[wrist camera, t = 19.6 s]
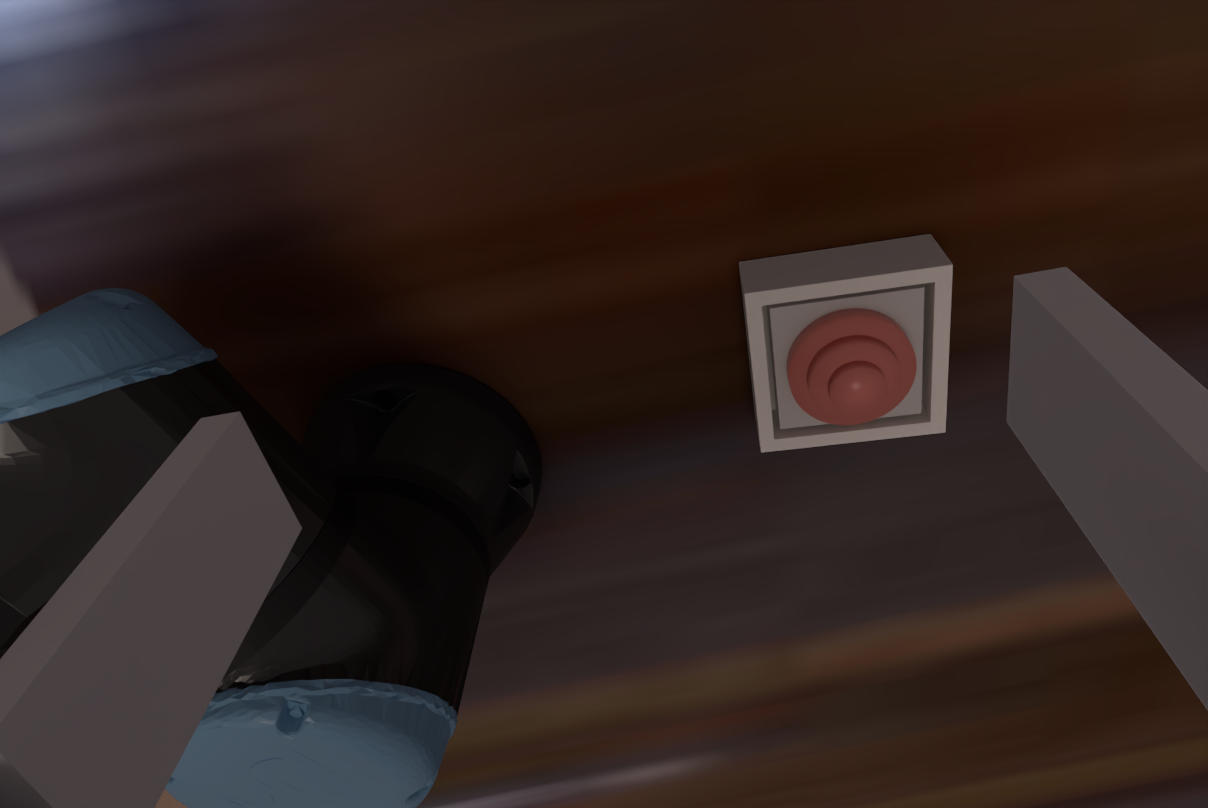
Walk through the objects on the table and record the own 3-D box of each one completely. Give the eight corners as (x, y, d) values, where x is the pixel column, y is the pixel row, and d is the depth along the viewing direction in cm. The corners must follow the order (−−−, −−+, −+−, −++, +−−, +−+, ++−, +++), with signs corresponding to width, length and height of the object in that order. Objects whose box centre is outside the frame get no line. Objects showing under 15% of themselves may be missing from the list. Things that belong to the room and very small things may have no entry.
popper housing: (926, 393, 48) (945, 432, 45) (754, 413, 50) (760, 452, 46) (930, 233, 43) (952, 264, 39) (738, 261, 44) (744, 293, 41)
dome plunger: (912, 393, 46) (936, 445, 42) (776, 409, 47) (786, 461, 43) (914, 270, 42) (941, 314, 38) (765, 291, 43) (776, 336, 39)
